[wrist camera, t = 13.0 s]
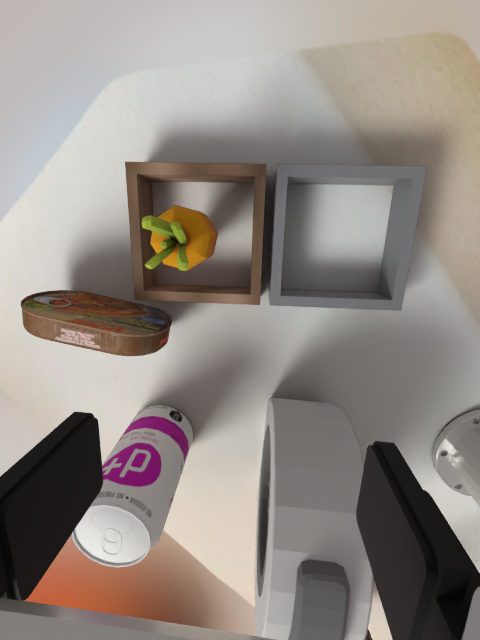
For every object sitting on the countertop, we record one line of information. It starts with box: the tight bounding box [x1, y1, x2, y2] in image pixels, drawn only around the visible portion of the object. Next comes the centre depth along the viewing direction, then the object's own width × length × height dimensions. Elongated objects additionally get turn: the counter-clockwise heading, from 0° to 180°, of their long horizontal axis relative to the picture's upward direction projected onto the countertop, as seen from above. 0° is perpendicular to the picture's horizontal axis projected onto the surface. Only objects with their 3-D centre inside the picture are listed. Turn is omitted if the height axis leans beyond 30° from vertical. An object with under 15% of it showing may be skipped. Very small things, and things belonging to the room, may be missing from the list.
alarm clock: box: [255, 398, 373, 640], centre depth 31 cm, size 21×8×20 cm, turn 176°
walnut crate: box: [125, 162, 266, 305], centre depth 31 cm, size 13×13×4 cm
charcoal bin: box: [269, 164, 427, 310], centre depth 31 cm, size 13×13×4 cm
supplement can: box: [72, 405, 193, 567], centre depth 33 cm, size 8×8×15 cm
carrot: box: [142, 205, 218, 271], centre depth 26 cm, size 5×5×15 cm
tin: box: [21, 290, 172, 356], centre depth 32 cm, size 15×3×8 cm, turn 78°
